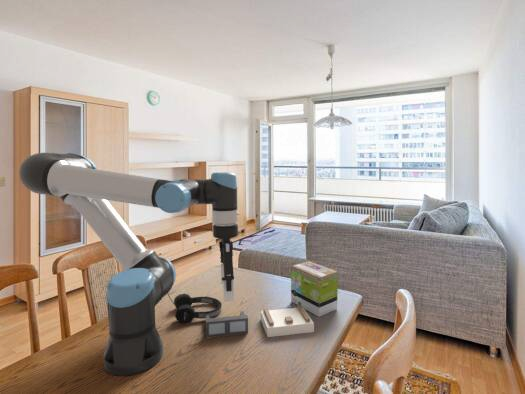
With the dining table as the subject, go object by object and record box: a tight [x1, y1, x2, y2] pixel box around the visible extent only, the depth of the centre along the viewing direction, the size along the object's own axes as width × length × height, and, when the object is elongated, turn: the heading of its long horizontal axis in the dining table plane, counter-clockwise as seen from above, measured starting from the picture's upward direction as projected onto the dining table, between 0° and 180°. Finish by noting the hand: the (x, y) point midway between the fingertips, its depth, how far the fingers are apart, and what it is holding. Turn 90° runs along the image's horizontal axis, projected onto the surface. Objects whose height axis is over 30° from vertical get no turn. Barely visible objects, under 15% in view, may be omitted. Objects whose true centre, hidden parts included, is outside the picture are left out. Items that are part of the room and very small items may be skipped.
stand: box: [260, 304, 315, 338], centre depth 101 cm, size 11×15×4 cm
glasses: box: [205, 310, 249, 339], centre depth 100 cm, size 11×13×5 cm
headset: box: [167, 293, 223, 324], centre depth 110 cm, size 14×10×20 cm
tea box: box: [290, 260, 339, 318], centre depth 114 cm, size 15×10×15 cm
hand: (227, 291), depth 95 cm, fingers open, 13 cm apart
